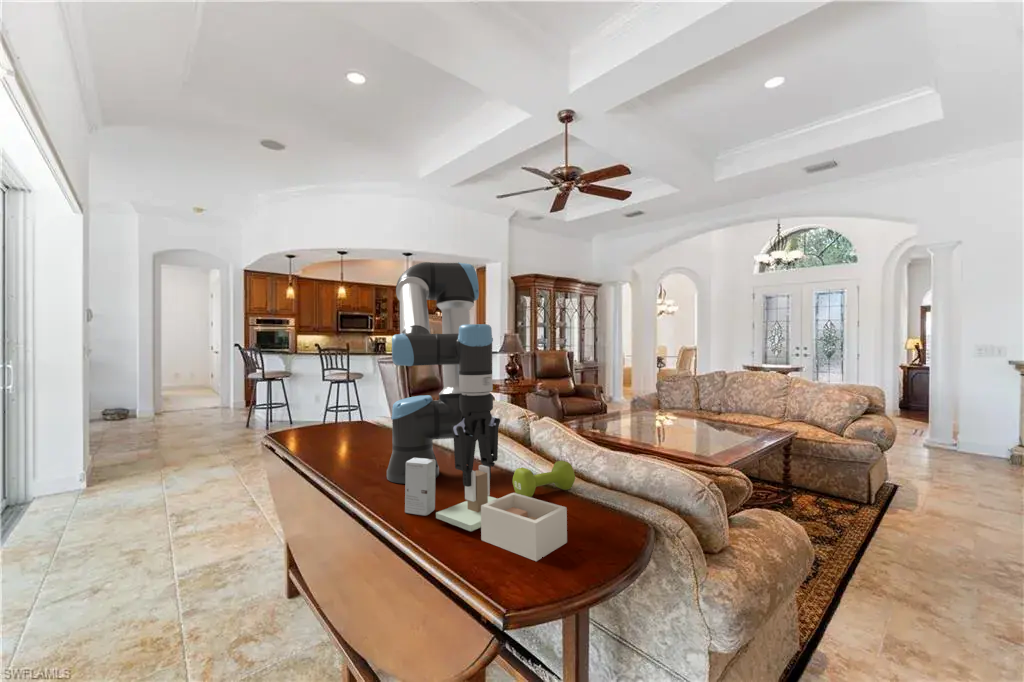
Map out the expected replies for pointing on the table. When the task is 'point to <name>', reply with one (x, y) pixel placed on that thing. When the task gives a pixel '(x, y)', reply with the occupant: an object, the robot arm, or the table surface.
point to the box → (524, 525)
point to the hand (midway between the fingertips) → (477, 496)
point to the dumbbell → (543, 478)
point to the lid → (468, 507)
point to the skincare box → (420, 486)
